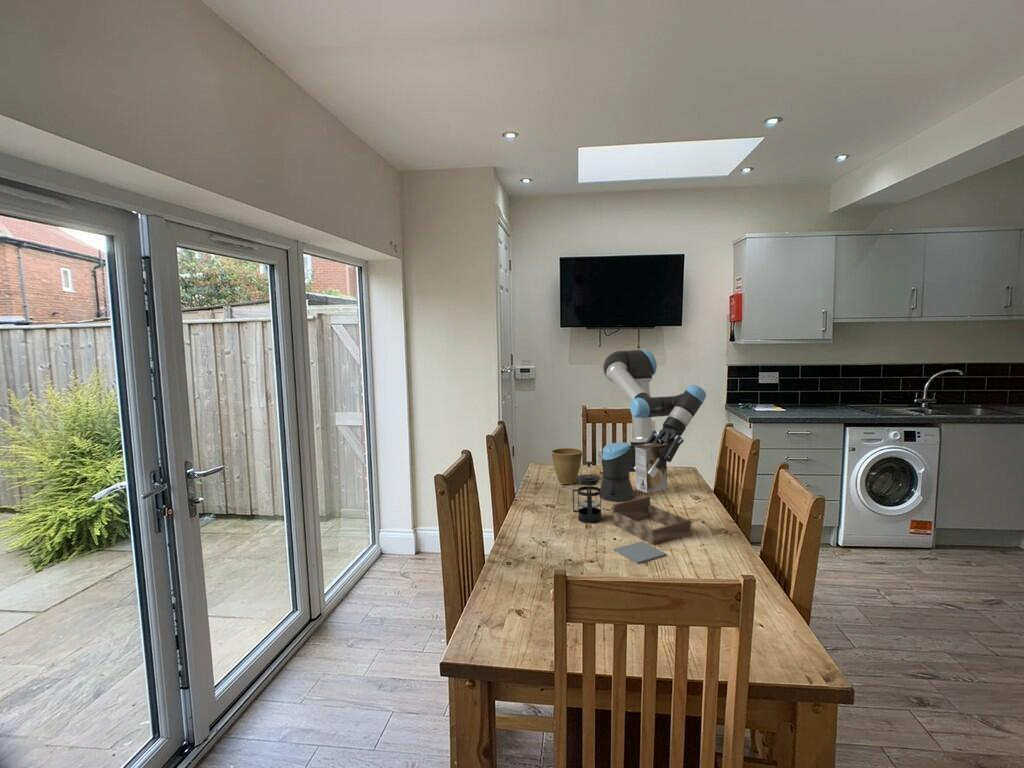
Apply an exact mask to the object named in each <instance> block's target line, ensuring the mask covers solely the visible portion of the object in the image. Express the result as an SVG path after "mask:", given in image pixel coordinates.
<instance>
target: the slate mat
mask: <svg viewBox="0 0 1024 768" xmlns="http://www.w3.org/2000/svg"><path fill="white" fill-rule="evenodd" d="M613 551H615V552H616V553H618V554H619V553H620V555H621V554H622V555H621V556H623V557H625V558H626V557H627V558H626V559H628V558H629V560H630V561H632V562H633V561H634V563H635V564H636V565H638V564H642V563H646V562H648V561H651V560H655V559H659V558H662V557H667V553H666V552H664V551H662V550H660V549H658V548H656V547H654V546H652V545H650V544H647V542H645V541H643V540H641V541H638V542H635V543H630V544H626V545H623V546H619V547H616V548H614V549H613Z"/></svg>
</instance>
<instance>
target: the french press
mask: <svg viewBox="0 0 1024 768" xmlns="http://www.w3.org/2000/svg"><path fill="white" fill-rule="evenodd" d="M583 464H584V465H587V468H588V469H587V470H588V473H587V474H580V475H578V476H577V480H578V484H579V485H581V487H578V489H577V488H576V489H572V505H573V507H572V509H573V513H578V515H577V521H579V522H580V521H581V522H580V523H584V524H597V522H598V523H600V522H602V519H603V518H602V498H601V489H600V488H601V487H598V486H596V485H598V483H599V481H600V480H601V479H602V477H601V476H600V475H597V474H590V467H591V465H594V464H595V462H593V461H588V460H587V461H584V462H583ZM584 490H585V491H586V492H582V491H584ZM592 490H593V491H596V492H592ZM575 492H577V507H578V508H577V509H575ZM579 495H580V496H582V497H583V496H584V497H586V499H584V500H581V501H579V500H580V496H579ZM599 495H600V496H599ZM597 496H599V498H600V499H599V501H598V500H594V499H592V498H593V497H597ZM580 507H581V508H580ZM598 507H600V508H598Z"/></svg>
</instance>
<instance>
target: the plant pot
mask: <svg viewBox="0 0 1024 768" xmlns="http://www.w3.org/2000/svg"><path fill="white" fill-rule="evenodd" d="M582 456H583V450H582V449H579V448H574V447H573V448H571V447H563V448H562V447H561V448H557V449H556V448H555V449H553V450H551V458H552V462H553V467H554V471H555V473H556V477H557V479H558V482H559V484H560V483H562V484H573V485H575V484H576V481H577V480H578V478H577V477H578V476H579V471H580V468H581V463H582V458H583V457H582ZM574 483H575V484H574ZM562 484H561V485H562Z"/></svg>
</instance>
